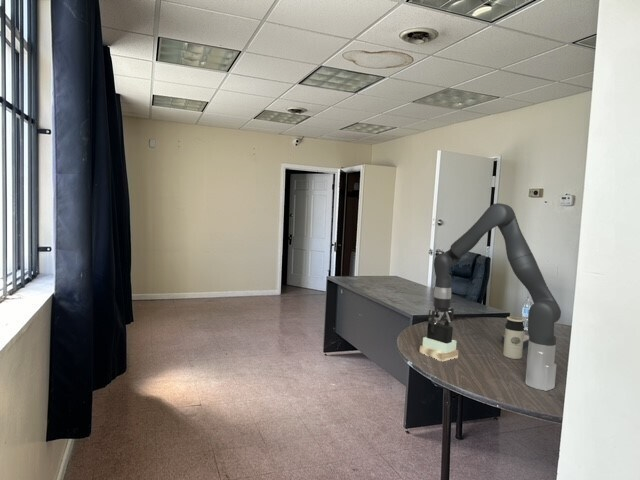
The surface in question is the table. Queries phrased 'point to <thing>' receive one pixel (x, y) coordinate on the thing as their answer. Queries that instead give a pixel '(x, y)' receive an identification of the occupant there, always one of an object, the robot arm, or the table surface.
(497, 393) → the table surface
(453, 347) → the block top
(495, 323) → the table surface
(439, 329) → the digital camera
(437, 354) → the block bottom
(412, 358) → the table surface
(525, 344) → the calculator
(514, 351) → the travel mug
